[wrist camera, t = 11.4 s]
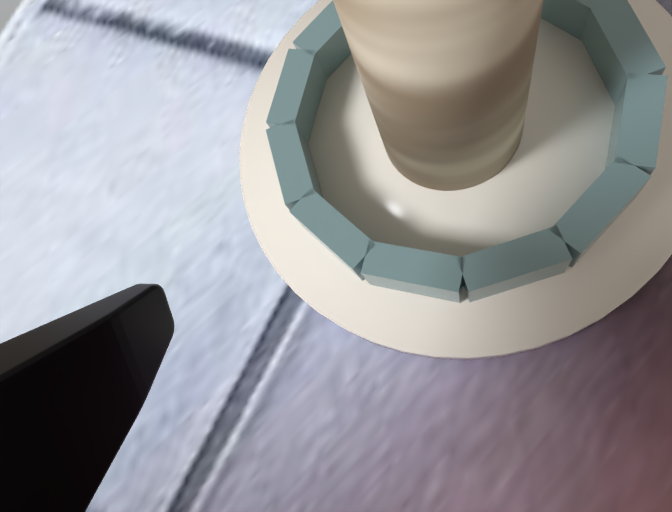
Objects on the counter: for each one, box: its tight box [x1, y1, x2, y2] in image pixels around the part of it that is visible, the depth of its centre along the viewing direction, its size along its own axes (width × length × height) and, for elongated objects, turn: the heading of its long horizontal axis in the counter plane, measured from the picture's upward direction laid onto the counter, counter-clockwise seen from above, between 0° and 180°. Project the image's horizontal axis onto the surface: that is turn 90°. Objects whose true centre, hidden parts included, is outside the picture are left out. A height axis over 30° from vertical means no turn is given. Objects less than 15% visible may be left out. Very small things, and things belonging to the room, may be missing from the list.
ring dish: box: [240, 0, 672, 360], centre depth 18 cm, size 15×15×2 cm
